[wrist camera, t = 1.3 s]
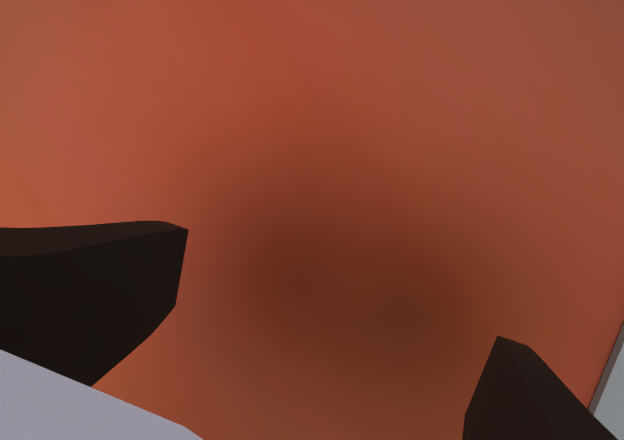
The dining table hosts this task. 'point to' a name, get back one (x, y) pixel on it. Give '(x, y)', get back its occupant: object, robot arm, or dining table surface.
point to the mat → (611, 392)
